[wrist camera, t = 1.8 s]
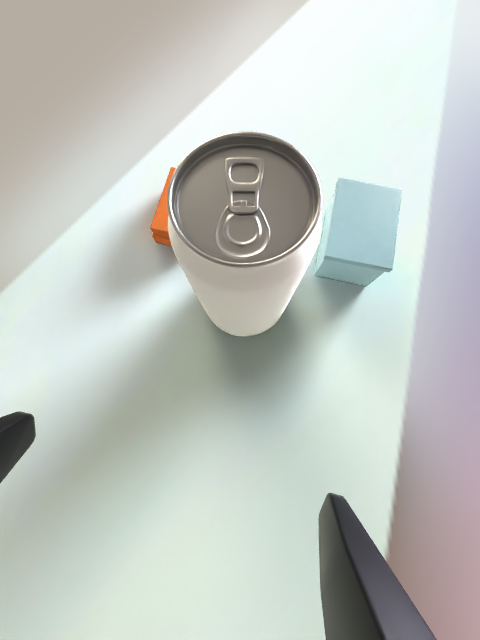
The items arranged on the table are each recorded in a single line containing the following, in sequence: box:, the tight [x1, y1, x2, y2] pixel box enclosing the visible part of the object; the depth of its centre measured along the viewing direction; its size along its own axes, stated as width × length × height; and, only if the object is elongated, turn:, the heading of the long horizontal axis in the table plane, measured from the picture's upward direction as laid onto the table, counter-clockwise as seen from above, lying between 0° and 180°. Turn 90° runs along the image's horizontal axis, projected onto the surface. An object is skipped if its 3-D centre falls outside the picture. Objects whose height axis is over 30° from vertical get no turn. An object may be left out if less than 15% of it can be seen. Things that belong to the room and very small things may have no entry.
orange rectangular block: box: [150, 167, 176, 246], centre depth 22 cm, size 6×3×2 cm, turn 167°
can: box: [167, 132, 322, 336], centre depth 16 cm, size 6×6×12 cm
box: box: [314, 178, 402, 286], centre depth 21 cm, size 6×4×4 cm
